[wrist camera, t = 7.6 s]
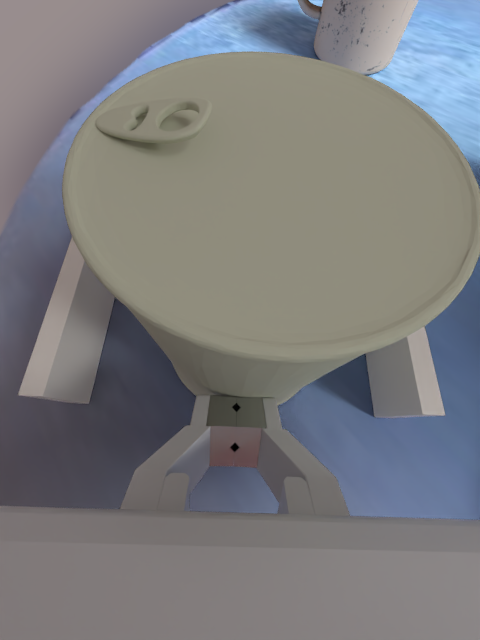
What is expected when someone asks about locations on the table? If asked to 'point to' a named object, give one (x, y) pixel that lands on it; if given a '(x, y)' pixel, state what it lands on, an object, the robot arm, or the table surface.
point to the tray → (91, 326)
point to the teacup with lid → (359, 31)
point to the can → (270, 216)
